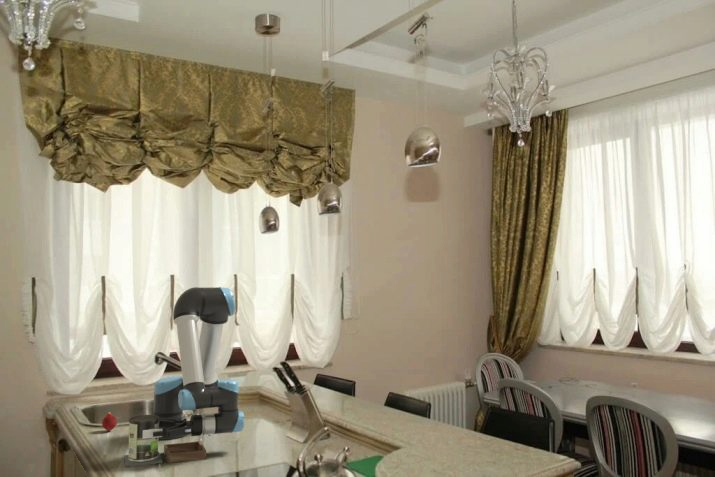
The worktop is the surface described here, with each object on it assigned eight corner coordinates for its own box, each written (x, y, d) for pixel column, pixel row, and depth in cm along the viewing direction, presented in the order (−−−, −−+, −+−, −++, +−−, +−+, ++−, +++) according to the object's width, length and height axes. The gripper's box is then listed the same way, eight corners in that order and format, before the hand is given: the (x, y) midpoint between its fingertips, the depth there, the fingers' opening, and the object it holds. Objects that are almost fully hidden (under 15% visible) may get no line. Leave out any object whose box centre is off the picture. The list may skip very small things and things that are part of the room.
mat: (124, 457, 221) (124, 455, 221) (158, 453, 226) (158, 451, 226) (126, 467, 210) (126, 464, 210) (162, 463, 215) (162, 460, 215)
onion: (118, 429, 260) (119, 410, 260) (113, 433, 254) (114, 413, 254) (104, 429, 259) (105, 410, 260) (99, 433, 254) (100, 413, 254)
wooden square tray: (163, 452, 227) (164, 444, 227) (200, 449, 232) (200, 441, 232) (168, 462, 215) (168, 454, 215) (206, 458, 220) (206, 450, 220)
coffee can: (163, 454, 222) (164, 415, 223) (148, 463, 212) (149, 421, 212) (138, 452, 224) (139, 413, 225) (121, 461, 214) (123, 420, 215)
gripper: (207, 443, 214) (143, 449, 206) (196, 427, 237) (139, 432, 229) (207, 422, 215) (144, 427, 207) (197, 407, 238) (139, 411, 230)
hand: (141, 429), depth 218 cm, fingers open, 13 cm apart
